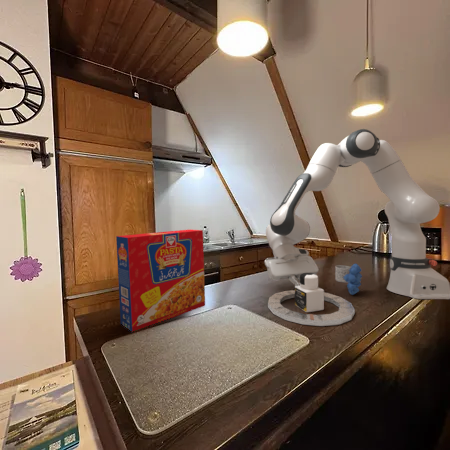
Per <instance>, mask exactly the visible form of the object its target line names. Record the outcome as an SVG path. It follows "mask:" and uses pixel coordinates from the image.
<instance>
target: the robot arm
mask: <svg viewBox="0 0 450 450" xmlns="http://www.w3.org/2000/svg"><path fill="white" fill-rule="evenodd" d="M360 162H361V163H363V164H365V166H366V167H367V168H368V170H369V173H370V174H371V176H372V178H373V180H374V182H375V183H376V186H377V187H378V189H379V191H381V192H382V193H383V194H385V196H386V197H387V198H388V199H389V200H388V201H387V202H386V204H385V206H384V213H385V215H386V217H387V219H388V220H387V221H388V225H389V229H390V234H391V255H390V260H389V267H390V275H389V278H388V279H389V280H388V284H387V285H386V290H388V291H389V292H392V293H395V294H398V295H402V296H405V297H410V298H412V299H416V300H450V282H449V280H448V279H447V278H446V277H445V276H444V275H442V274H441V273H439V272H438V271H436V270H435V269H433V267H436V266H437V265H438V262H437V260H434V259H429V258H428V257H426V256H427V254H426V253H427V250H426V249H427V238H426V236H425V235H424V233H423V231H422V228H421V224H424V223H428V222H431V221H432V220H434V219H436V218H437V217H438V215H439V213H440V210H441V209H440V204H439V202H438V201H437V199H436V198H434V197H432V196H430V195H429V194H428V193H427V192H426V191H425V190H424V189H422V187H421V186H420V185H419V184H418V183H417V182H416V181H415V180H414V178H413V177H412V176H411V175H410V172H409V171H408V169H407V167H406V166H405V164H404V163H403V161H402V159H401V157H400V156H399V154H398V153H397V151H396V149H394V147H393V146H392V145H391V144H390V143H389V141H387V140H384V139H380V138H379V137H377V136H376V134H375V133H374V132H372V130H369V129H365V128H362V129H358V130H355V131H353V132H351V133H349V135H347V136H346V137H345V138H343V139H342V140H341V141H340V142H339V143H338V144H335V143H331V142H324V143H322V144H320V146H318V147H317V149H316V151H315V152H314V154H313V155H312V157H311V159H310V161H309V163H308V165H307V167H306V169H305V170H304V172H303V173H301V174H300V175H298V176H297V177H296V179H295V180H294V182H293V183H292V185H291V187H289V190H287V193H286V195H285V196H284V198H283V200H282V201H281V203H280V204H279V206H278V207H277V208H276V210H274V212H273V213H272V214H271V217H270V220H269V223H268V225H267V227H266V229H265V237H266V239H267V243H268V246H269V247H270V248H271V250H272V254H273V257H267V258H266V259H265V260H264V261H263V262H264V266H265V267H266V269H267V274H268V277H269V279H270V280H271V281H273V282H274V281H281V280H288V281H290V282H291V283H292V284H293V285H294V287H295V286H300V275H301V274H303V273H313V274H316V275H317V274H318V273H319V267H318V265H317V263H316V262H315V260H314V259H313V258H312V256H310V255H309V254H310V253H309V251H308V250H307V249H303V248H299V247H296V246H294V245H297V244H299V243H301V242H302V241H304V240H306V239H307V238H308V236H309V235H310V231H311V226H310V224H309V222H308V221H306V220H305V219H303V218H302V217H300V216H298V215H297V214H296V211H297V209H298V206H299V205H300V203H301V202H302V200H303V198H304V196H305V195H306V194H307V193H308V192H320V191H323V190H325V189H327V188H329V186H330V184H331V183H332V182H333V179H334V177H335V175H336V173H337V170H338V168H349V167H351V166H354V165H355V164H357V163H360Z"/></svg>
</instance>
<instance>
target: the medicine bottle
mask: <svg viewBox="0 0 450 450" xmlns="http://www.w3.org/2000/svg"><path fill="white" fill-rule="evenodd" d="M299 282H300V286H295V285H294V290H295V298H294V306H296V307H297V308H299V309H301V310H302V311H303V312H305V313H311V312H312V313H313V312H318V311H323V310H324V309H325V306H324V305H325V304H324V302H325V300H324V292H325V290H324V289H323V288H321V287H319V276H318V275H317V274H313V273H303V274H301V275H300V280H299Z"/></svg>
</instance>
